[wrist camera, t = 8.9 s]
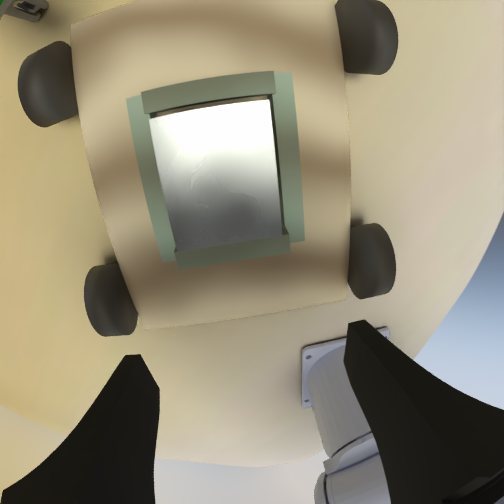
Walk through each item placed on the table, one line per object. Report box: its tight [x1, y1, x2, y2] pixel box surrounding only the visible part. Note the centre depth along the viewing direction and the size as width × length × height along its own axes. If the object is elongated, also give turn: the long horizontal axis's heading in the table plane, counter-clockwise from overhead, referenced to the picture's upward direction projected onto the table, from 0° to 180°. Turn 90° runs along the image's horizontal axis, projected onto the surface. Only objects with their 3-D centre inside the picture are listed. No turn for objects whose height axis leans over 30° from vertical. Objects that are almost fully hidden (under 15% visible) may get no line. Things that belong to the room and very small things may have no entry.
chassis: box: [18, 0, 398, 337], centre depth 13 cm, size 20×17×4 cm
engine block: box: [149, 100, 282, 252], centre depth 12 cm, size 5×4×5 cm
